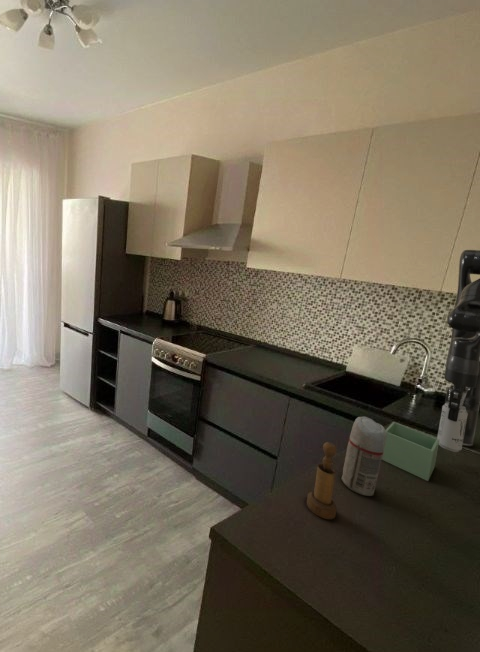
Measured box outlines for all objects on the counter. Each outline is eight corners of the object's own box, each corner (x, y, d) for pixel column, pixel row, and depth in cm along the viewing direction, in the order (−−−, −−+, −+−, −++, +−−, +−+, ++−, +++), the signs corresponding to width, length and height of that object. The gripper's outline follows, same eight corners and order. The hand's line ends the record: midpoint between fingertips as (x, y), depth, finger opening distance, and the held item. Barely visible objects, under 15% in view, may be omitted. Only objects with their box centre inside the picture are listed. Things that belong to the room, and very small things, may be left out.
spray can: (371, 483, 99) (382, 419, 98) (379, 502, 92) (391, 433, 90) (338, 472, 102) (348, 410, 101) (344, 489, 95) (354, 423, 94)
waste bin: (388, 447, 120) (393, 421, 119) (434, 467, 111) (439, 439, 110) (379, 458, 112) (384, 431, 112) (428, 481, 103) (433, 451, 102)
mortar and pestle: (301, 498, 90) (310, 435, 88) (323, 499, 90) (332, 436, 89) (317, 519, 83) (328, 451, 82) (341, 520, 84) (352, 452, 82)
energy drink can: (455, 454, 109) (463, 410, 107) (432, 443, 114) (439, 401, 113) (464, 451, 111) (472, 408, 110) (441, 440, 117) (448, 399, 115)
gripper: (476, 378, 103) (467, 429, 104) (479, 369, 112) (471, 417, 113) (443, 369, 109) (434, 418, 110) (449, 362, 118) (441, 407, 119)
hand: (453, 417), depth 112 cm, fingers closed on energy drink can, 6 cm apart
